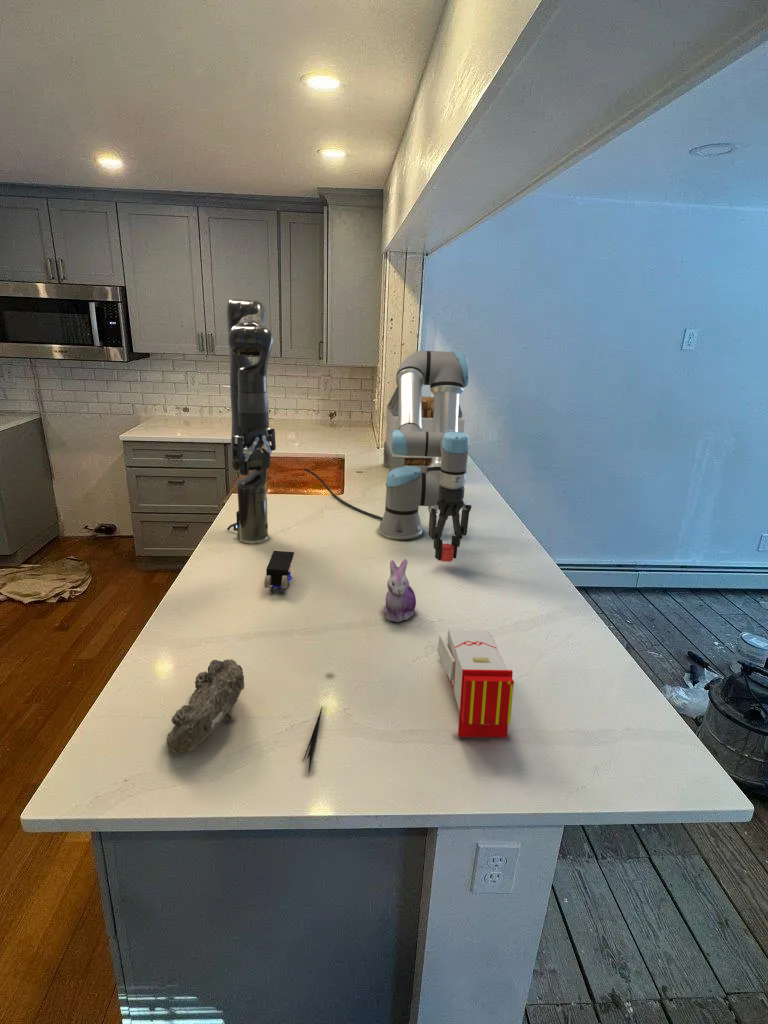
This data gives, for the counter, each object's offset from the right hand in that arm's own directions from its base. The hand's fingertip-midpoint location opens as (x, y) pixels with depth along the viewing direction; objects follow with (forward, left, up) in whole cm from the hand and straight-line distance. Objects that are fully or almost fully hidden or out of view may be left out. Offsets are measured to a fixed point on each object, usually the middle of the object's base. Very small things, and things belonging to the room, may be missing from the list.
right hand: (445, 557), depth 175 cm
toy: (+45, -40, -3) cm, 61 cm away
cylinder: (0, 0, 0) cm, 0 cm away
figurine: (+13, -31, -3) cm, 33 cm away
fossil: (+20, -85, -3) cm, 88 cm away
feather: (+33, -70, -3) cm, 77 cm away
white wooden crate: (-81, +68, -3) cm, 106 cm away
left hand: (-23, -51, +30) cm, 64 cm away
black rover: (-19, -47, -3) cm, 51 cm away
